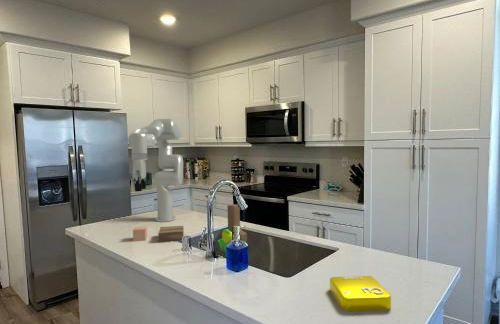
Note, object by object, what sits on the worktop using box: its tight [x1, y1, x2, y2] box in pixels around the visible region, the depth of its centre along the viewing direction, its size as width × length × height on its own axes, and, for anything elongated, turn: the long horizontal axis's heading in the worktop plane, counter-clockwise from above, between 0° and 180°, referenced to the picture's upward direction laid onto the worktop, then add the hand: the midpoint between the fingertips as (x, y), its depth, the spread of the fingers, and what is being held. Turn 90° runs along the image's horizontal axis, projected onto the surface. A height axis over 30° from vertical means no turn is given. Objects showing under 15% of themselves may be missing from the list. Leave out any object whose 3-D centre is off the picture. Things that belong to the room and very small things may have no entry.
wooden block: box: [226, 203, 248, 243], centre depth 159 cm, size 9×4×18 cm, turn 50°
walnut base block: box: [157, 225, 185, 243], centre depth 166 cm, size 12×12×5 cm
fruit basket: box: [217, 228, 246, 254], centre depth 143 cm, size 11×9×11 cm
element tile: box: [329, 275, 392, 312], centre depth 100 cm, size 15×15×5 cm
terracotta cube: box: [132, 225, 148, 242], centre depth 166 cm, size 6×6×6 cm
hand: (140, 190), depth 165 cm, fingers open, 9 cm apart
